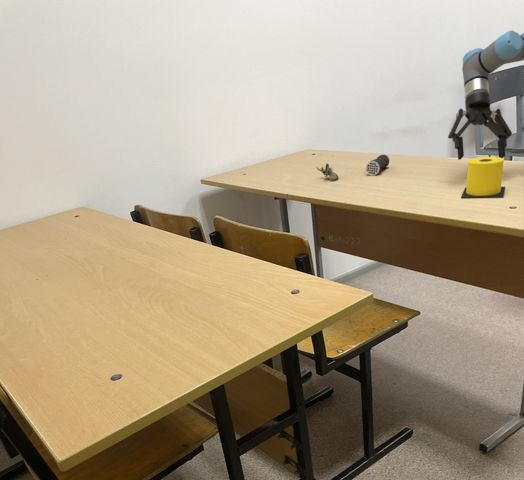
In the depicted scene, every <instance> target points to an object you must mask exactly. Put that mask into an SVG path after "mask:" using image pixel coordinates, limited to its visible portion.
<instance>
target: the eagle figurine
mask: <svg viewBox="0 0 524 480" xmlns="http://www.w3.org/2000/svg"><path fill="white" fill-rule="evenodd" d="M316 169H317V170H318V171H319V172H321V173H322V174H323V179H322V181H325V180H326V179H327V177H328V176H329V181H331V182H336V181H338V180H339V175H338V174H337V173H336V172H334V167H333V165H331V164H330V163H325V168H324V167H323V166H321V167H320V168H319V167H318V166H317V167H316Z"/></svg>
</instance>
